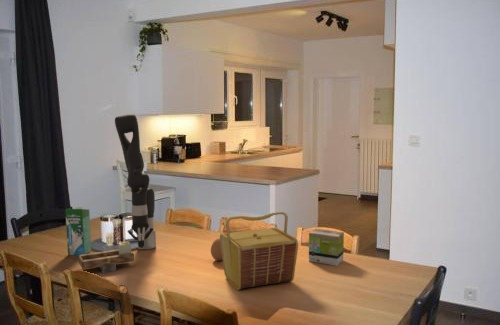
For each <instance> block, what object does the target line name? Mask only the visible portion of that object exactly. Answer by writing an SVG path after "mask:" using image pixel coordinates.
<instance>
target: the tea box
mask: <svg viewBox="0 0 500 325" xmlns="http://www.w3.org/2000/svg"><path fill="white" fill-rule="evenodd" d="M308 236H309V237H308V262H313V263H318V264H325V265H331V266H335V267H338V266H339V265H340V264H341V263H342V262H343V261H344V247H345V246H344V245H345V244H344V240H345V237H344V236H345V232H343V231H337V230H335V231H334V230H330V229H320V228H315V229H314V230H312V231H310V232H309V233H308Z"/></svg>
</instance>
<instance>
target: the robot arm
mask: <svg viewBox="0 0 500 325" xmlns="http://www.w3.org/2000/svg"><path fill="white" fill-rule="evenodd" d="M114 125H115V130H116V131H117V135H118V138H119V141H120V146H121V149H122V154H123V157H124V164H125V167H126V171H127V174H128V175H127V181H126V182H127V186H128V187H129V188H130V191H131V205H132V206H131V220H132V221H131V223H132V224H131V228H130V229H129V230H127V233H128V234H129V235H130V236H131V237H132V238H133V239H134V240H135V241H137V248H138V247H139V248H138V250H151V249H152V250H153V249H155V248H157V241H156V240H157V239H156V238H157V237H156V236H157V235H156V232H157V231H156V230H155V209H156V207H155V197H156V196H155V195H156V194H155V192H154V189H153V188H151V187H149V184H150V177H149V174H148V173H145V172H143V171H144V168H145V162H144V158H143V154H142V153H141V142H140V129H139V122H138V118H137V116H136V114H135V113H130V114H125V115H124V114H123V115H118V116H116V117H115V118H114ZM129 133H132V139H131V141H130V140H129V139H128V137H127V136H126V134H129ZM134 233H135V234H136V236H135V234H134Z"/></svg>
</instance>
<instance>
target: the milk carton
mask: <svg viewBox="0 0 500 325" xmlns="http://www.w3.org/2000/svg"><path fill="white" fill-rule="evenodd" d="M64 210H65V225H66V242H67V255H68V256H78V255H83V254H89V253H90V252H91V251H92V237H91V235H92V234H91V218H90V217H91V216H90V209H87V208H86V209H85V208H84V207H83V206H75V207H74V208H65V209H64Z"/></svg>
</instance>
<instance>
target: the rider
mask: <svg viewBox="0 0 500 325" xmlns="http://www.w3.org/2000/svg"><path fill="white" fill-rule="evenodd" d="M117 245H118V249H119V255H122V254H128V253H132V244H131V242H130V241H120V242H118V243H117Z"/></svg>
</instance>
